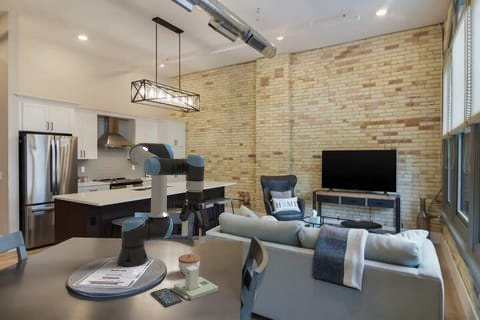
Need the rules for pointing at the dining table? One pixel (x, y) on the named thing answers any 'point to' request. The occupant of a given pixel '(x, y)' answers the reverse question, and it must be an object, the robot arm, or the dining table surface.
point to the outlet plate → (203, 289)
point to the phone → (166, 297)
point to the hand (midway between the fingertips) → (192, 239)
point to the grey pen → (177, 293)
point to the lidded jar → (188, 261)
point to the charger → (191, 278)
